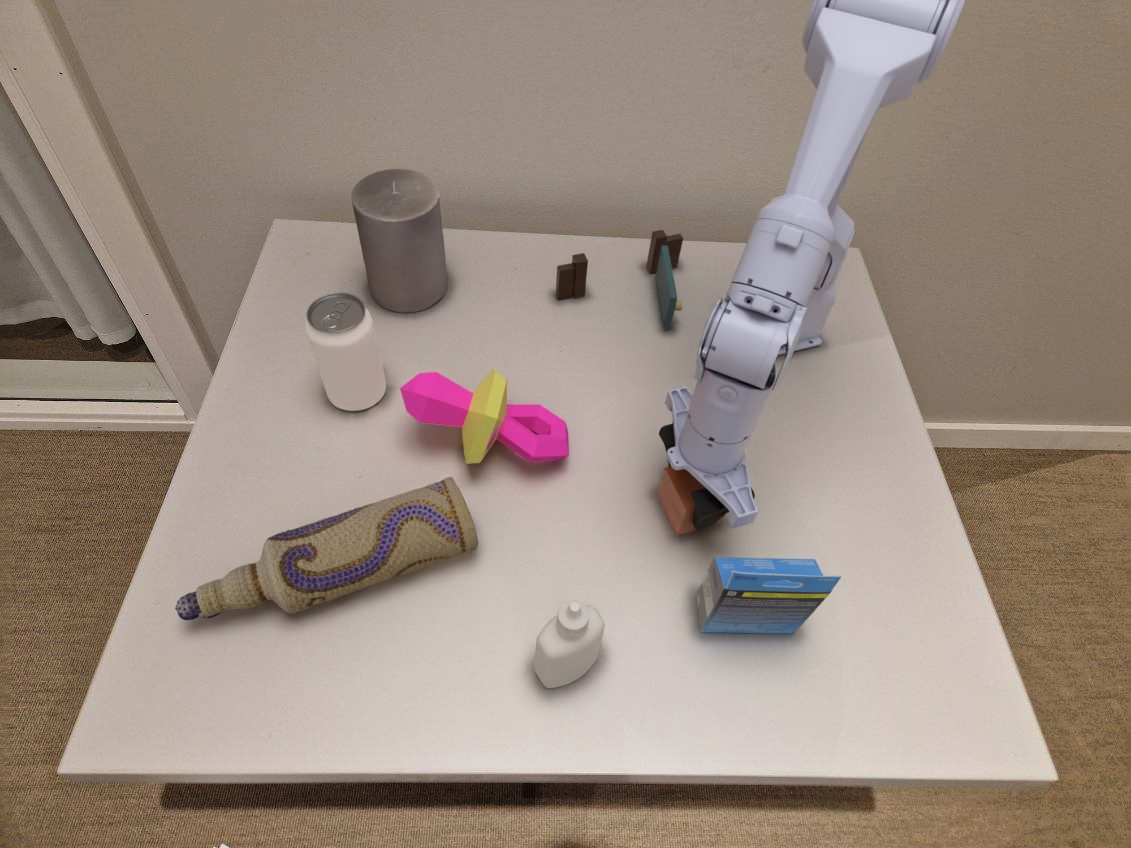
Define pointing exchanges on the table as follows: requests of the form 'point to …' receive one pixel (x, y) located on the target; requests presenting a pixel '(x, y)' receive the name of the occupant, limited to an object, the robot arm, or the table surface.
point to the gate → (575, 273)
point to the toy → (487, 417)
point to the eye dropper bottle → (568, 644)
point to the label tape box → (760, 594)
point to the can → (346, 351)
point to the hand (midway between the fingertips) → (691, 501)
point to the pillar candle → (401, 238)
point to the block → (679, 498)
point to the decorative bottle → (344, 553)
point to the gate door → (666, 288)
